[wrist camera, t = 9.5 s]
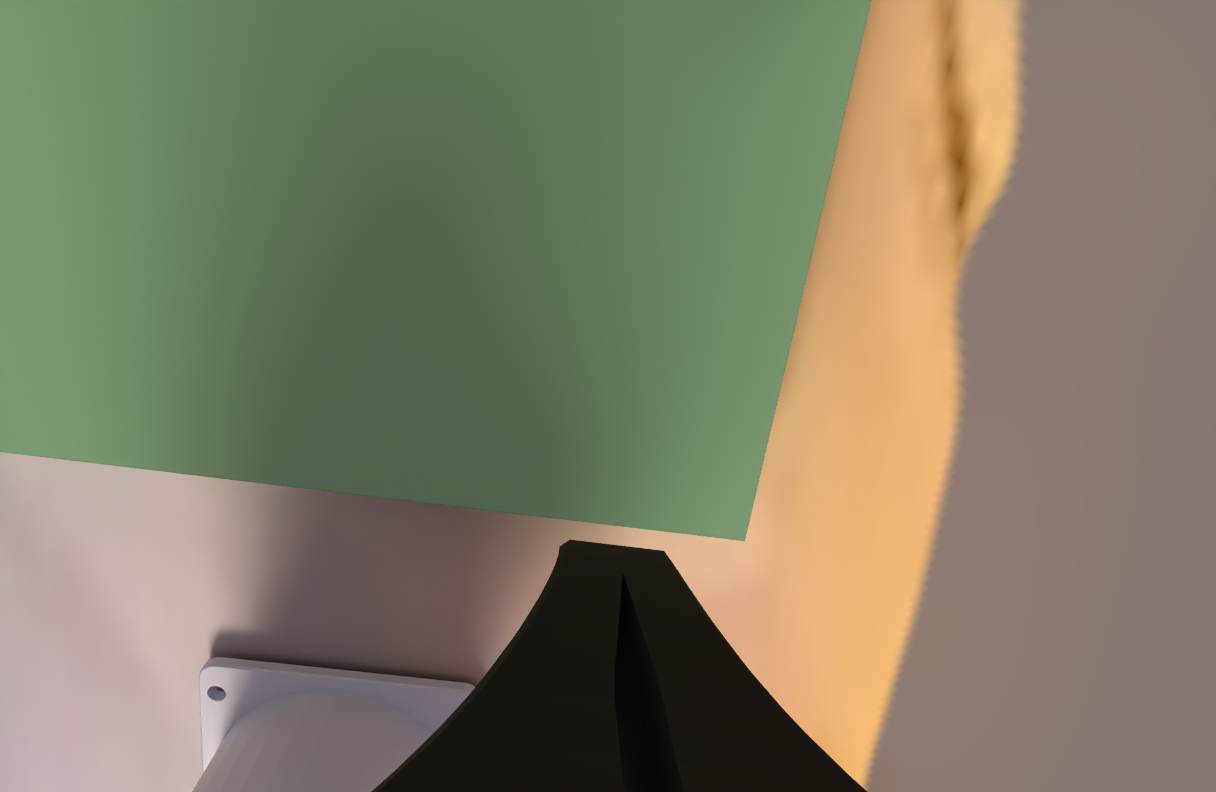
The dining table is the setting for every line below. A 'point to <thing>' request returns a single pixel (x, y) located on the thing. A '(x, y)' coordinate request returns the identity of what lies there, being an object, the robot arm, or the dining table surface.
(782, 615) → the dining table surface
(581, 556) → the robot arm
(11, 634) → the dining table surface
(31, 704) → the dining table surface
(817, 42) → the green mini golf board
